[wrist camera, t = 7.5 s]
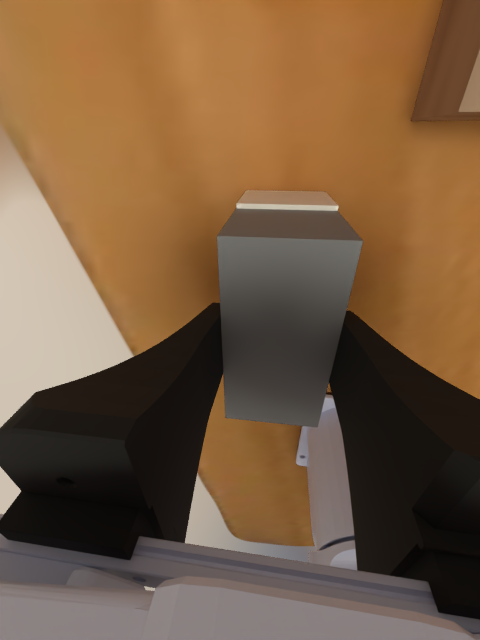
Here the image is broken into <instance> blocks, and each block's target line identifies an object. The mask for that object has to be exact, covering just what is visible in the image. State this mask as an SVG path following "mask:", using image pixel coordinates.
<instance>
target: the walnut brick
mask: <svg viewBox="0 0 480 640" xmlns="http://www.w3.org/2000/svg"><path fill="white" fill-rule="evenodd" d="M439 120H480V0H443V4H442V7H441V11H440V15H439V19H438V22H437V26H436V30H435V33H434V37H433V41H432V44H431V48H430V52H429V55H428V59H427V63H426V66H425V70H424V74H423V78H422V81H421V85H420V89H419V92H418V96H417V100H416V103H415V107H414V111H413V114H412V118H411V121H439Z"/></svg>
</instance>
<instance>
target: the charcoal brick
mask: <svg viewBox="0 0 480 640" xmlns="http://www.w3.org/2000/svg"><path fill="white" fill-rule="evenodd" d="M362 244H363V240H362V239H361V238H360V237H359V235H358V234H357V233H356V232H355V231H354V230H353V228H352V227H351V226H350V225H349V224H348V223H347V221H346V220H345V219H344V218H343V217H342V216H341V214H340V213H339V212H338V211H325V210H282V209H239V208H236V209H235V211H234V212H233V214H232V215H231V217H230V218H229V219H228V221H227V222H226V224H225V225H224V227H223V228H222V230H221V231H220V232H219V234H218V235H217V247H218V268H219V289H220V311H221V332H222V354H223V375H224V396H225V418H232V419H241V420H251V421H260V422H269V423H279V424H288V425H298V426H307V427H317V428H318V425H319V421H320V416H321V412H322V408H323V404H324V400H325V396H326V392H327V388H328V384H329V379H330V375H331V371H332V367H333V363H334V359H335V355H336V351H337V347H338V342H339V338H340V334H341V330H342V326H343V322H344V318H345V314H346V309H347V305H348V301H349V297H350V293H351V289H352V285H353V281H354V277H355V272H356V268H357V264H358V260H359V256H360V252H361V248H362Z"/></svg>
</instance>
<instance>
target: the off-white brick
mask: <svg viewBox="0 0 480 640" xmlns="http://www.w3.org/2000/svg"><path fill="white" fill-rule="evenodd" d="M338 207H339V206H338V205H337V203H336V202H335V201H334V200H333V199H332V198H331V197H330V196H329V195H328V194H327V193H326V192H325V191H270V190H246V191H245V193H244V194H243V195H242V197H241V198H240V199H239V201H238V202H237V208H239V209H282V210H325V211H338Z"/></svg>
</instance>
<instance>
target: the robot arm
mask: <svg viewBox="0 0 480 640" xmlns="http://www.w3.org/2000/svg"><path fill="white" fill-rule="evenodd" d="M222 375H223V354H222V332H221V311H220V303H212V304H211V305H209V306H208V307H207V308H206V309H205V310H203V311H202V312H201V313H200V314H199V315H197V316H196V317H195V318H194V319H193V320H191V321H190V322H189V323H188V324H186V325H185V326H184V327H182V328H181V329H179V330H178V331H177V332H175V333H174V334H172V335H171V336H170V337H168V338H167V339H165V340H163V341H162V342H160V343H159V344H157V345H155V346H153V347H152V348H150V349H148V350H146V351H145V352H143V353H141V354H139V355H137V356H134V357H132V358H130V359H128V360H126V361H124V362H122V363H120V364H118V365H115V366H113V367H110V368H108V369H105V370H103V371H100V372H98V373H95V374H92V375H90V376H87V377H84V378H81V379H78V380H75V381H72V382H69V383H65V384H62V385H59V386H55V387H52V388H49V389H45V390H42V391H39V392H36V393H34V395H32V397H31V398H30V399H29V400H28V401H27V402H26V403H25V404H24V405H23V406H22V407H21V408H20V409H19V410H18V411H17V412H16V413H15V414H14V415H13V416H12V417H11V418H10V419H9V420H8V421H7V422H6V423H5V424H4V425H3V426H2V427H1V428H0V466H1V468H2V469H3V470H4V471H5V472H6V473H7V475H8V476H9V477H10V478H11V479H12V480H13V482H14V483H15V484H16V485H17V486H18V487H19V488H20V490H21V493H20V494H19V496H18V497H17V498H16V499H15V501H14V502H13V503H12V505H11V506H10V508H9V509H8V510H7V511H6V513H5V514H4V515H3V514H0V640H480V400H479V399H477V398H475V397H474V396H472V395H470V394H468V393H466V392H464V391H462V390H461V389H459V388H457V387H455V386H453V385H451V384H449V383H448V382H446V381H444V380H443V379H441V378H439V377H438V376H436V375H434V374H433V373H431V372H430V371H428V370H426V369H425V368H423V367H422V366H420V365H419V364H417V363H416V362H414V361H413V360H411V359H410V358H408V357H407V356H406V355H404V354H403V353H402V352H400V351H399V350H398V349H396V348H395V347H394V346H392V345H391V344H390V343H388V342H387V341H386V340H385V339H384V338H382V337H381V336H380V335H379V334H378V333H376V332H375V331H374V330H373V329H372V328H371V327H369V326H368V325H367V324H366V323H365V322H364V321H362V320H361V319H360V318H359V317H358V316H357V315H355V314H354V313H353V312H351V311H346V314H345V318H344V322H343V326H342V330H341V334H340V338H339V342H338V347H337V351H336V355H335V359H334V363H333V367H332V371H331V375H330V379H329V383H330V387H331V391H332V395H326V396H325V400H324V404H323V408H322V412H321V416H320V421H319V425H318V428H317V427H307V426H302V428H301V434H300V439H299V444H298V449H297V454H296V464H297V465H300V466H307V476H308V488H309V501H310V513H311V526H312V535H313V540H314V544H315V547H316V549H317V551H312V552H309V553H308V554H309V563H306V562H300V561H294V560H287V559H281V558H275V557H268V556H262V555H255V554H249V553H243V552H237V551H231V550H224V549H218V548H212V547H205V546H199V545H193V544H186V543H185V537H186V531H187V526H188V520H189V514H190V508H191V503H192V498H193V492H194V487H195V481H196V476H197V471H198V466H199V461H200V456H201V451H202V446H203V441H204V437H205V432H206V427H207V423H208V419H209V415H210V412H211V409H212V406H213V403H214V400H215V396H216V393H217V390H218V387H219V384H220V381H221V378H222ZM144 586H147V587H153V588H156V589H155V591H147V590H145V588H144Z"/></svg>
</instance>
